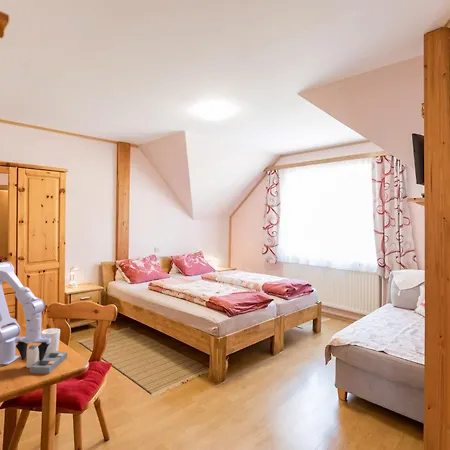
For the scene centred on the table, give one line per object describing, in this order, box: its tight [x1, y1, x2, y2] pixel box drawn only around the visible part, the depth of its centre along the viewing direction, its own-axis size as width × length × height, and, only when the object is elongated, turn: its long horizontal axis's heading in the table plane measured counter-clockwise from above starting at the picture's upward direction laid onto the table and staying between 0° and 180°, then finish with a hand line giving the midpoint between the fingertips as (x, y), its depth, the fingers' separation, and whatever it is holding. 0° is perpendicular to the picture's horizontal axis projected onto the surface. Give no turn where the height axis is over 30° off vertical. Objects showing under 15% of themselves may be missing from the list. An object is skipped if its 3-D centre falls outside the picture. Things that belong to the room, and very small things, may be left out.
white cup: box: [41, 327, 61, 355], centre depth 151 cm, size 8×8×10 cm
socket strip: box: [29, 351, 68, 374], centre depth 138 cm, size 8×15×3 cm, turn 1°
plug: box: [26, 344, 39, 369], centre depth 136 cm, size 3×3×9 cm
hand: (32, 359), depth 136 cm, fingers open, 7 cm apart
